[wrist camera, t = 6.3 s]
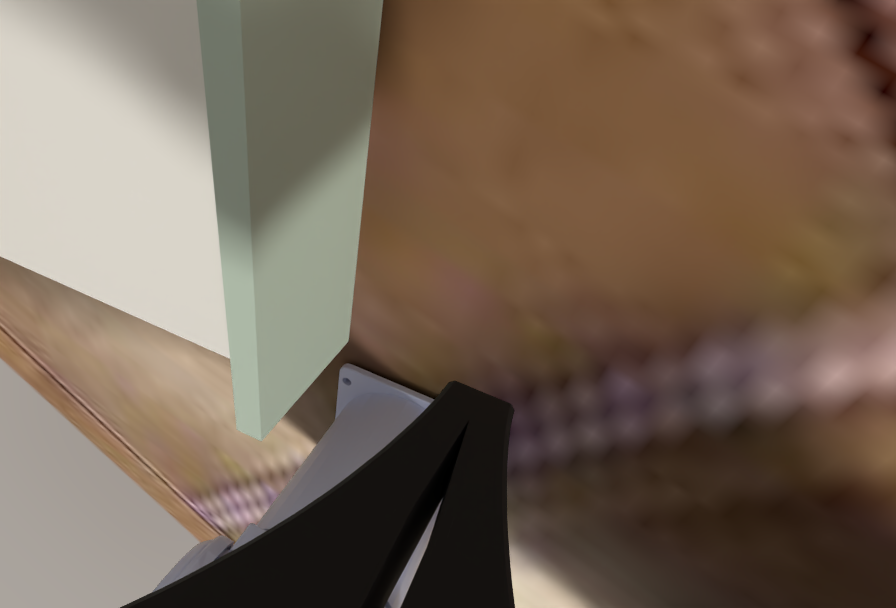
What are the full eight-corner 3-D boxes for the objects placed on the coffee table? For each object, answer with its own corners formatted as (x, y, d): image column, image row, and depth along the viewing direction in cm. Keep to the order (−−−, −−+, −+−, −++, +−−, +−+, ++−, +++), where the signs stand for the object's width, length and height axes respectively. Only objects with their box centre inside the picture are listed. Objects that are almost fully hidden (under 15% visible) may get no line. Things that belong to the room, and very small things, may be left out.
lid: (348, 341, 22) (261, 441, 17) (5, 197, 25) (-146, 249, 21) (388, -55, 13) (237, -69, 9) (-139, -195, 17) (-455, -259, 12)
